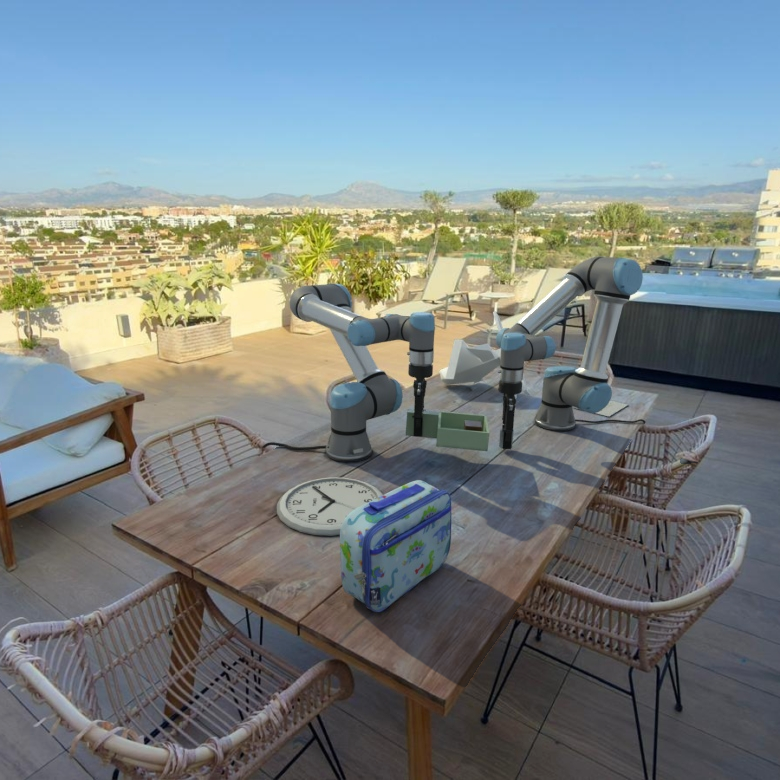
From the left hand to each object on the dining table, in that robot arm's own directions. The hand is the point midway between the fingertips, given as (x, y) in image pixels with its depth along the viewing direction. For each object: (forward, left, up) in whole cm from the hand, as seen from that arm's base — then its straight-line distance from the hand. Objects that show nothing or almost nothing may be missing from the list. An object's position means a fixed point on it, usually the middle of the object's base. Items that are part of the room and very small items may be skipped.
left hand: (418, 433), depth 168 cm
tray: (+8, +4, -1) cm, 9 cm away
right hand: (+22, +23, -7) cm, 33 cm away
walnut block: (+17, +4, 0) cm, 17 cm away
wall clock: (-6, -38, -10) cm, 40 cm away
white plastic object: (-11, +82, -9) cm, 83 cm away
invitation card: (+41, +92, -9) cm, 101 cm away
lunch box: (+25, -57, -10) cm, 63 cm away
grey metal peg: (+22, +23, -8) cm, 33 cm away
